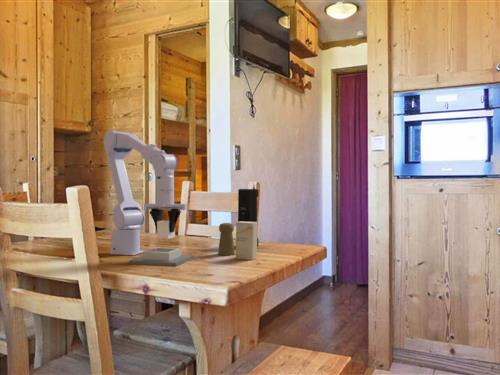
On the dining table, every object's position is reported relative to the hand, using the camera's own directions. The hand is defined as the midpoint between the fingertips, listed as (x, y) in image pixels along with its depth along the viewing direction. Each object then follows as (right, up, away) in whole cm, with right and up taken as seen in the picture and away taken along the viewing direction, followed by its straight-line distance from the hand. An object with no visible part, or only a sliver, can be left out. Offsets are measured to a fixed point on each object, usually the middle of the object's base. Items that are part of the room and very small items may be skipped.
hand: (165, 231), depth 142 cm
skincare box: (+27, -9, +1) cm, 28 cm away
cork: (+20, -9, +9) cm, 23 cm away
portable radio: (+26, -9, +27) cm, 39 cm away
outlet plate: (0, -9, -3) cm, 10 cm away
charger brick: (0, -2, 0) cm, 2 cm away
